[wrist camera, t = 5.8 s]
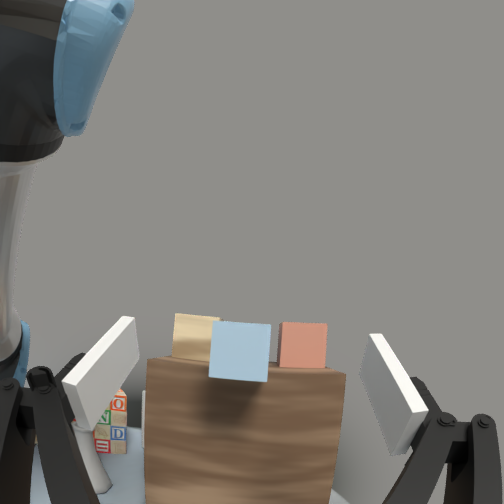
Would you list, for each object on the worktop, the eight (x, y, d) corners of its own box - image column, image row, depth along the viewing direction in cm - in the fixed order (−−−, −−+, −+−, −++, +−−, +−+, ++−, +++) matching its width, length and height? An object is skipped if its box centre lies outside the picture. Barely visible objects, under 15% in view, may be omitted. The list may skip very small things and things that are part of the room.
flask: (86, 469, 32) (83, 414, 35) (121, 486, 30) (119, 429, 33) (53, 478, 26) (47, 418, 28) (88, 501, 24) (82, 438, 26)
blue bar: (267, 382, 19) (270, 324, 20) (208, 376, 20) (213, 320, 21) (266, 360, 40) (268, 332, 42) (237, 358, 41) (239, 330, 42)
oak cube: (215, 362, 32) (219, 317, 33) (171, 356, 32) (175, 313, 33) (221, 359, 36) (224, 320, 38) (182, 355, 37) (185, 316, 38)
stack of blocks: (16, 440, 32) (12, 376, 35) (20, 429, 37) (18, 370, 40) (127, 454, 43) (127, 395, 46) (120, 442, 48) (121, 387, 51)
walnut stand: (316, 553, 19) (346, 374, 25) (148, 539, 19) (147, 359, 26) (300, 500, 32) (316, 363, 38) (177, 490, 33) (182, 353, 39)
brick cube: (324, 368, 31) (327, 323, 33) (279, 367, 31) (282, 321, 33) (316, 364, 36) (318, 325, 37) (276, 363, 36) (279, 324, 38)
